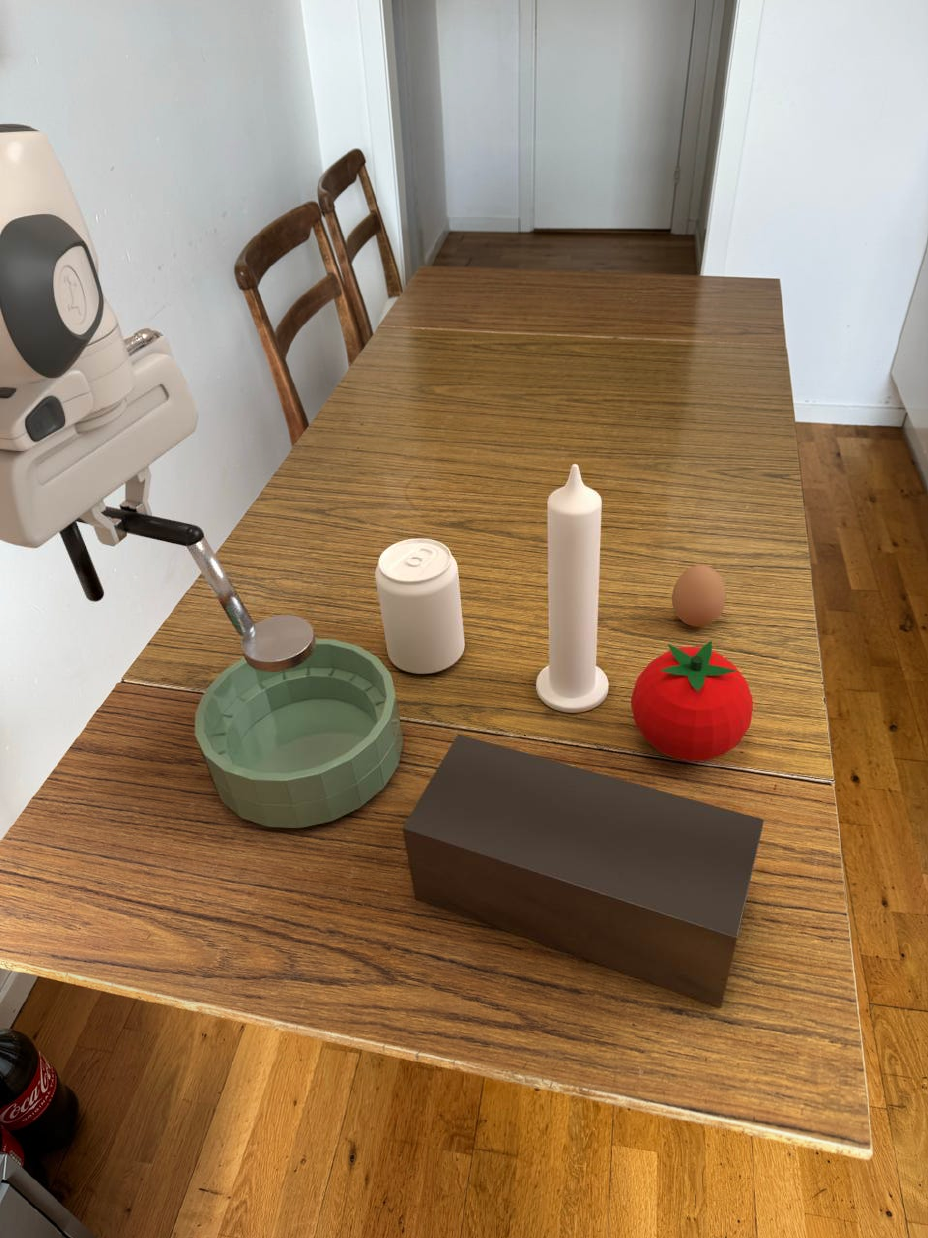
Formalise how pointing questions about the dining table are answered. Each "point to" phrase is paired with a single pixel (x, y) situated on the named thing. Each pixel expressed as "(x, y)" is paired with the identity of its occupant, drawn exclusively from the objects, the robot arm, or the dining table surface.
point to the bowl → (301, 736)
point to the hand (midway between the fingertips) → (126, 530)
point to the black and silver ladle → (262, 643)
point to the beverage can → (420, 605)
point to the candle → (573, 599)
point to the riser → (585, 864)
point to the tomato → (692, 703)
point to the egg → (699, 596)
